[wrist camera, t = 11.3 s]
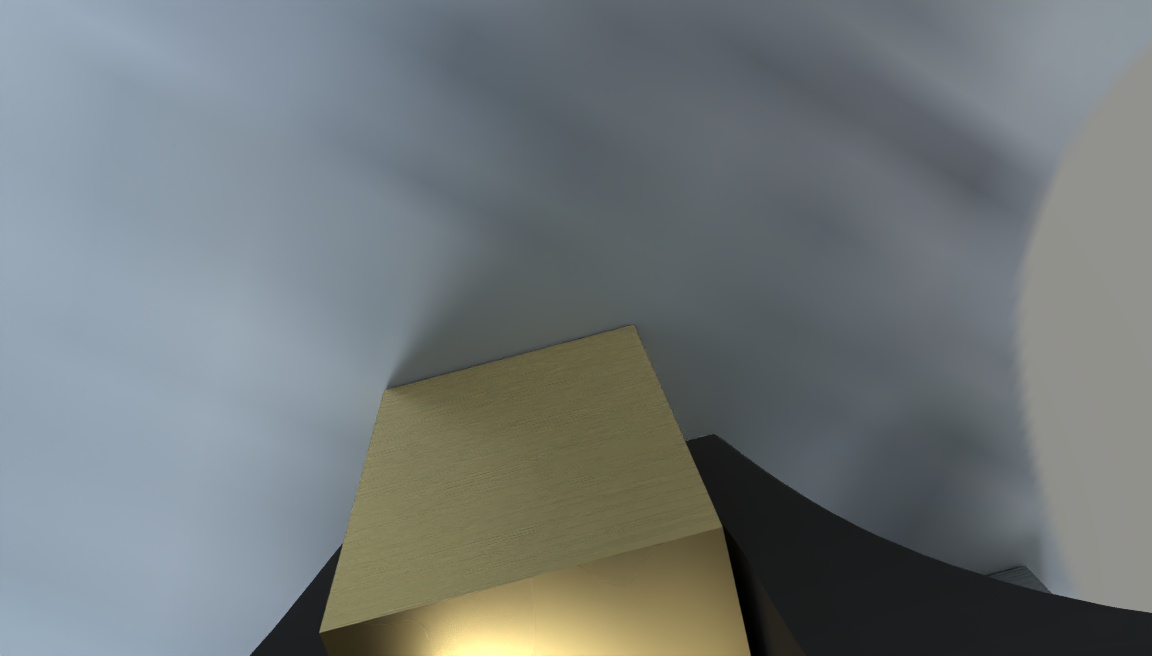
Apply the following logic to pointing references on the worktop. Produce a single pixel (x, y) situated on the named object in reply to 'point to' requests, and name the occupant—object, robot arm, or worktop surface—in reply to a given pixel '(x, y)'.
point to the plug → (534, 518)
